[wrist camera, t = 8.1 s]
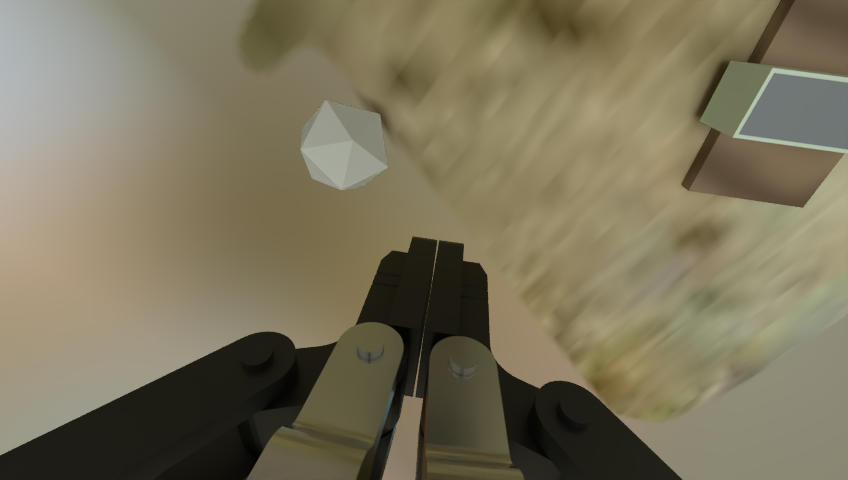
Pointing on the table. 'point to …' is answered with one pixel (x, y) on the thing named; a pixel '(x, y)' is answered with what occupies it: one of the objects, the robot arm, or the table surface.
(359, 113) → the die
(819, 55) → the board
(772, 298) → the table surface
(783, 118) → the sage block
